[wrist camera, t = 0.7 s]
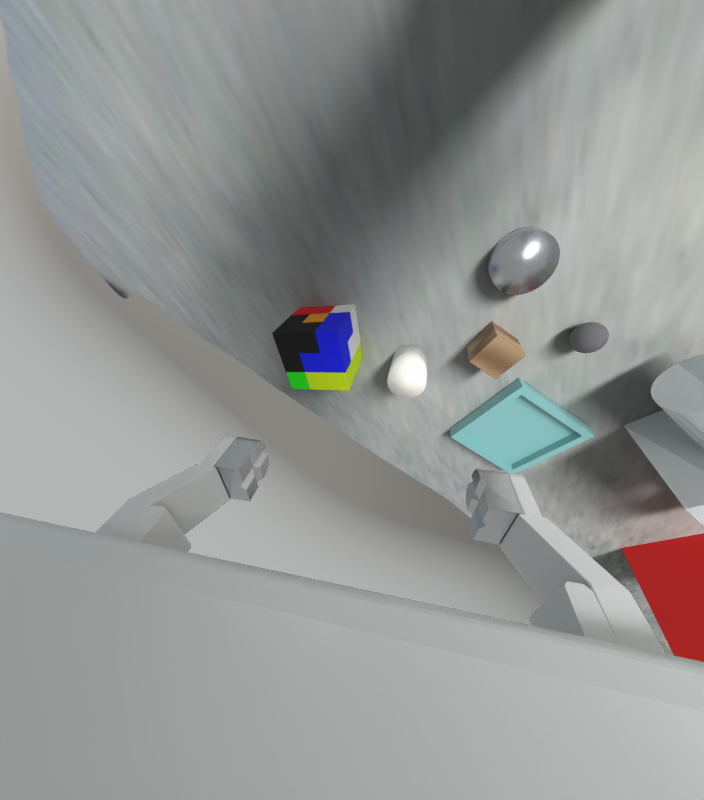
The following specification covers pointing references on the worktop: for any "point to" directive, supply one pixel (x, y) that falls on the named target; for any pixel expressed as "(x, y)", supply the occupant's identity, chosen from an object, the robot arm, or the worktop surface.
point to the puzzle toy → (320, 347)
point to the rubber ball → (588, 337)
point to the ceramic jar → (408, 371)
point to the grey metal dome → (523, 260)
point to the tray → (520, 428)
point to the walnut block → (494, 350)
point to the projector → (677, 432)
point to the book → (674, 589)
